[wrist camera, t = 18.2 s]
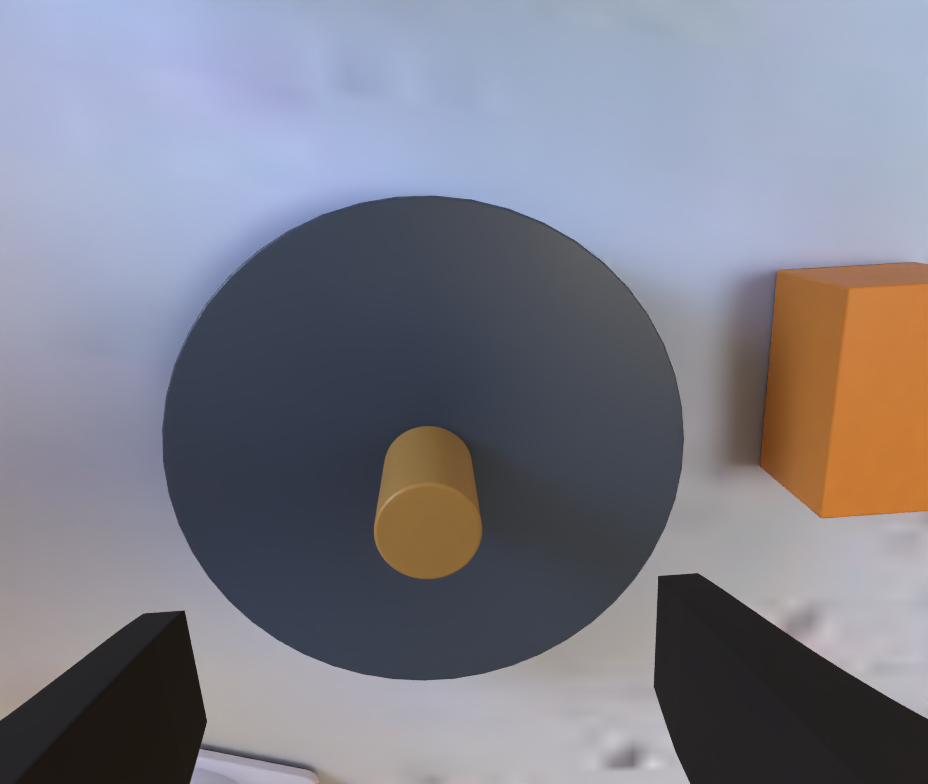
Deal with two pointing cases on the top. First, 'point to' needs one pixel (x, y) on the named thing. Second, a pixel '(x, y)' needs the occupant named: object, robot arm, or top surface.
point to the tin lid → (422, 438)
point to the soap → (850, 389)
